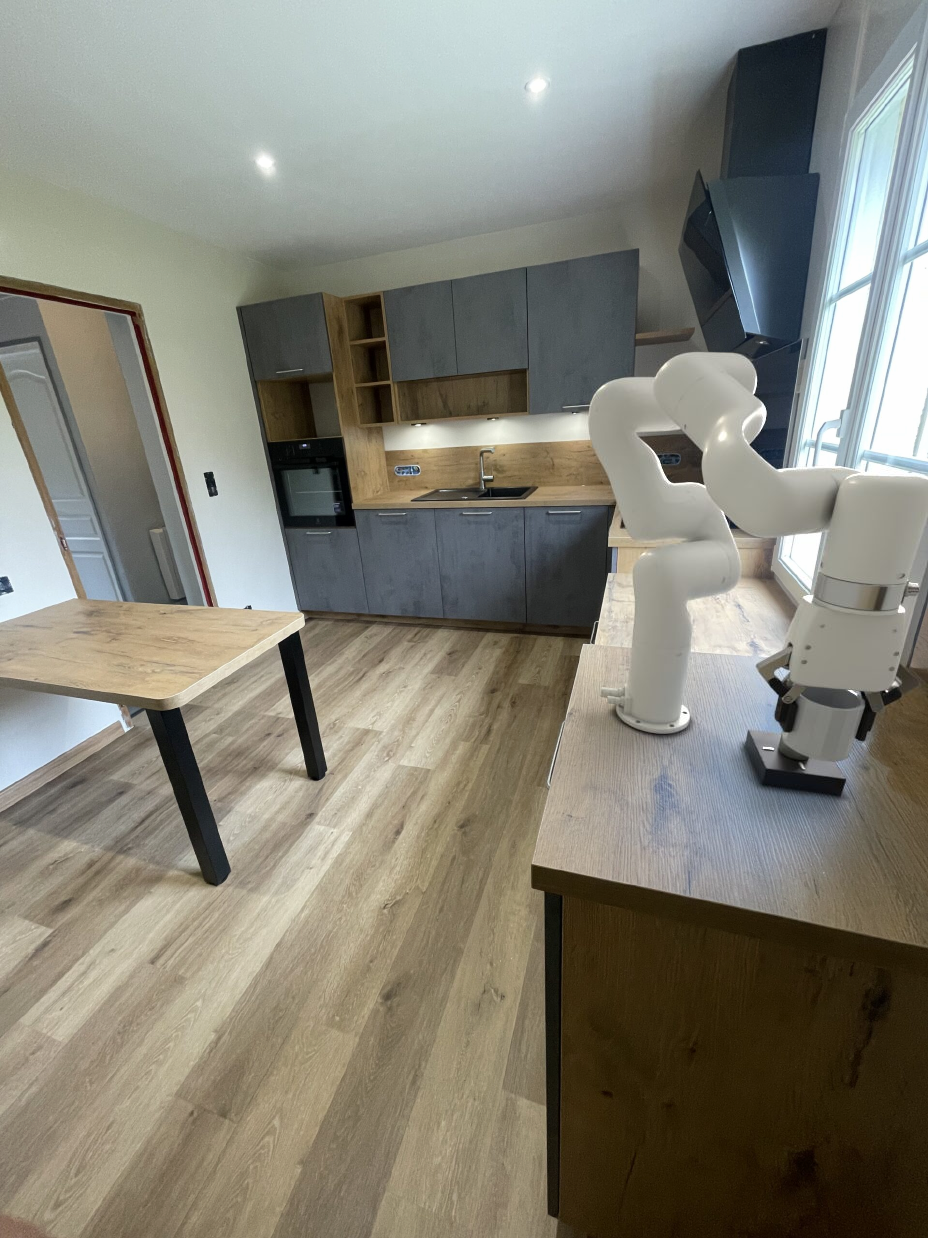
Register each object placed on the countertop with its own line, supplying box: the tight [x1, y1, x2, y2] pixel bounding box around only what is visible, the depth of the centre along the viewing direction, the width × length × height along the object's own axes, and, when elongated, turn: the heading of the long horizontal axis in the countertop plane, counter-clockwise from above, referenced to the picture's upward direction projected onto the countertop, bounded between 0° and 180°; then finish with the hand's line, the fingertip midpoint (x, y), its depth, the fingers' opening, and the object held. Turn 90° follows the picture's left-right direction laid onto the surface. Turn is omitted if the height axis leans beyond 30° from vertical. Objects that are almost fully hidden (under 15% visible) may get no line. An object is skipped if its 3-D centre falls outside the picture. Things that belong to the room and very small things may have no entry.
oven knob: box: [778, 729, 809, 760], centre depth 72 cm, size 4×4×4 cm
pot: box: [783, 686, 865, 763], centre depth 58 cm, size 7×7×7 cm
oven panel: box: [744, 729, 847, 797], centre depth 74 cm, size 10×10×3 cm
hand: (818, 729), depth 59 cm, fingers closed on pot, 6 cm apart
